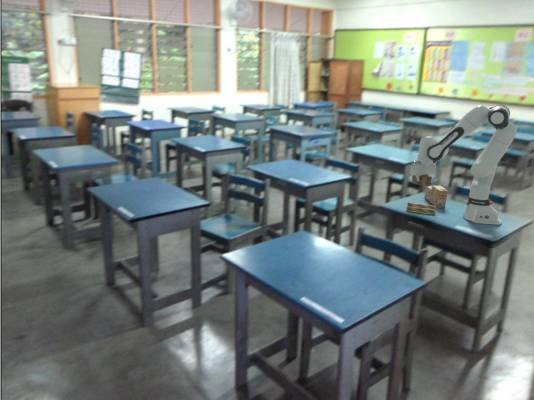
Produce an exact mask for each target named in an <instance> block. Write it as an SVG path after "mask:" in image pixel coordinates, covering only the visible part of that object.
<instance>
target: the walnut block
mask: <svg viewBox="0 0 534 400" xmlns="http://www.w3.org/2000/svg"><path fill="white" fill-rule="evenodd" d="M411 176H412V177H411V183H413V184H416V185H419V186H423V187H425V188H426V187H427V186H432V179H433V177H432V176H429V175H428V176H426V175H425V174H424V175H420V177H419V178H420V181H417V178H416V176H413V175H411Z"/></svg>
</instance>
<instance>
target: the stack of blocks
mask: <svg viewBox="0 0 534 400" xmlns="http://www.w3.org/2000/svg"><path fill="white" fill-rule="evenodd" d="M448 191H449V190H447V188H445V187H444V186H442V185H432V184H431V186H427V187H426V186H425V192H424V193H425V194H424V198H425V200H426V201H428V202H429V203H431V205H432V206H436V207H435V208H445V207H446V203H447V197H448Z"/></svg>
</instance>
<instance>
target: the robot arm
mask: <svg viewBox="0 0 534 400" xmlns="http://www.w3.org/2000/svg"><path fill="white" fill-rule="evenodd" d="M510 117H511V111H510V108H509V107H507V106H506V105H501V104H499V105H496V106H492V107H489V108H488V107H486V106H485V105H483V104H479V105H476V106H475V107H474V108H472V109H471V110H469V111H468V112H467V113H465V115H464V116H462V118H460V120H459V121H457V123H456V125H455V126H454V127H453V128H452V130H451V131H450V132H449V133H448V134H447V135H445V137H443V138H442V139H441V140H438V139H436V138H435V137H434V136H431V135H429V136H423V137H421V138H420V141H419V145H418V153H417V161H413V162H412V164H411V167H410V170H409V174H410V176H416V178H417V181H420V178H419V177H420V175H426V176H429V175H431V174H436V173H435V172H436V171H437V163H438V161H440V160H441V159H442V158H444V157H445V156H447V155H448V153H449V151H450V149H449V148H450V147H451V146H453V144H455V143H456V142H458V140H460V139H462V138H465V137H467V136H468V135H471V134H472V133H474V132H475V131H476V130H478V129H479V128H480V127H481V126H482V125H483V124H485V123H487V122H488V123H489V124H490V125H491V126H492V127H494V129H495V131H494V133H493V135H492V136H491V138H490V139H489V141H488V142H487V144H486V146H485V147H484V149H483V150H482V151H481V152H480V154H479V155H478V157H477V158H476V159H475V160H474V163H473V164H472V165H471V167H470V173H471V176H473V179H472V182H471V184H470V190H469V195H468V196H467V199H466V207H465V211H464V212H463V215H462V218H463V219H465V220H467V221H470V222H472V223H475V224H483V225H484V224H485V225H493V226H494V225H496V226H499V225H501V224H502V220H501V219H500V218H499V212H498V211H497V209H495V208H494V207H493V203H494V202H493V201H492V200H491V199H490V198H489V196H490V192H491V186H492V183H493V181H494V178H495V175H496V171H497V168H498V163H499V161H500V160H501V159H502V158H503V157H504V155H505V154H506V152H507V150H508V149H509V147H510V146H511V144H512V142H513V141H514V139H515V136H516V134H517V132H518V128H517V126H516V125H515V124H514V123H512V122H511V121H510Z"/></svg>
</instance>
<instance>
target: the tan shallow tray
mask: <svg viewBox="0 0 534 400" xmlns="http://www.w3.org/2000/svg"><path fill="white" fill-rule="evenodd" d="M436 208H437V207H436V206H434V205H433V204H431V205H430V204H423V203H416V202H407V206H406V212H412V213H419V214H427V215H433V216H435V215H436Z"/></svg>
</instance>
